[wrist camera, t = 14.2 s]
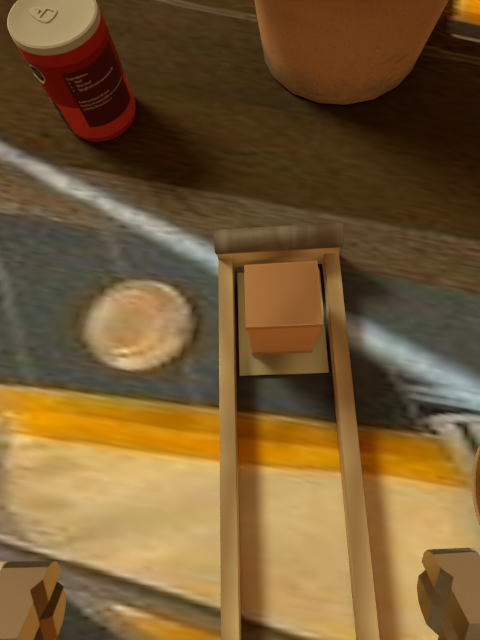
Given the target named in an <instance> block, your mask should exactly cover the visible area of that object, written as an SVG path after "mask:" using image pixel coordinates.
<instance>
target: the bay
mask: <svg viewBox="0 0 480 640" xmlns="http://www.w3.org/2000/svg"><path fill="white" fill-rule="evenodd" d="M343 243H344V228H343V224H342V223H325V224H308V225H291V226H274V227H257V228H240V229H223V230H214V246H215V253H216V254H217V255H218V259H219V395H220V542H221V640H241V589H240V538H239V487H238V435H237V384H236V333H235V281H234V268H244V265H253V264H271V263H290V262H308V261H317V263H318V264H322V268H323V279H324V290H325V301H326V312H327V323H328V334H329V345H330V356H331V367H332V378H333V389H334V400H335V411H336V421H337V432H338V443H339V454H340V465H341V476H342V487H343V498H344V509H345V520H346V531H347V542H348V553H349V564H350V575H351V586H352V597H353V608H354V619H355V630H356V640H380V639H379V629H378V620H377V610H376V601H375V591H374V582H373V572H372V563H371V553H370V544H369V534H368V525H367V516H366V506H365V497H364V487H363V478H362V468H361V459H360V449H359V440H358V430H357V421H356V411H355V402H354V392H353V383H352V374H351V364H350V355H349V345H348V336H347V326H346V317H345V307H344V298H343V288H342V279H341V269H340V260H339V250H340V247H343ZM318 274H319V286H320V297H321V308H322V320H323V325H322V327H321V328H320V330H319V333H318V336H317V339H316V342H315V344H314V347H313V352H312V353H291V354H265V355H252V354H251V346H250V341H249V336H248V331H247V330H246V314H245V278H244V272H243V273H237V279H238V325H239V370H240V376H257V375H285V374H313V373H329V368H328V357H327V346H326V334H325V323H324V312H323V301H322V289H321V278H320V269H318Z"/></svg>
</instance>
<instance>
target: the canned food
mask: <svg viewBox="0 0 480 640" xmlns="http://www.w3.org/2000/svg"><path fill="white" fill-rule="evenodd" d="M7 26H8V30H9V32H10V34H11V36H12V38H13V41H14V42H15V44H16V46H17V47H18V49H19V51H20V52H21V54H22V56H23V57H24V59H25V60H26V62H27V64H28V65H29V67H30V68H31V70H32V71H33V73H34V75H35V76H36V78H37V79H38V81H39V83H40V84H41V86H42V87H43V89H44V90H45V92H46V94H47V95H48V97H49V98H50V100H51V102H52V103H53V105H54V106H55V108H56V109H57V111H58V113H59V114H60V116H61V117H62V119H63V121H64V122H65V124H66V125H67V126H68V128H69V129H70V130H71V131H72V132H74V133H75V134H76V135H77V136H79V137H80V138H82V139H85V140H88V141H95V142H100V141H107V140H111V139H113V138H116V137H118V136H120V135H121V134H123V133H124V132H125V131H126V130H127V129H128V128H129V127H130V126H131V124H132V122H133V120H134V117H135V100H134V96H133V94H132V91H131V88H130V86H129V83H128V81H127V78H126V75H125V73H124V70H123V67H122V65H121V62H120V60H119V57H118V54H117V52H116V49H115V47H114V44H113V41H112V39H111V36H110V33H109V31H108V28H107V26H106V23H105V20H104V18H103V16H102V13H101V11H100V8H99V6H98V4H97V2H96V0H18V1H17V2H16V3H15V4H14V5H13V7H12V8H11V10H10V12H9V15H8V19H7Z"/></svg>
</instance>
